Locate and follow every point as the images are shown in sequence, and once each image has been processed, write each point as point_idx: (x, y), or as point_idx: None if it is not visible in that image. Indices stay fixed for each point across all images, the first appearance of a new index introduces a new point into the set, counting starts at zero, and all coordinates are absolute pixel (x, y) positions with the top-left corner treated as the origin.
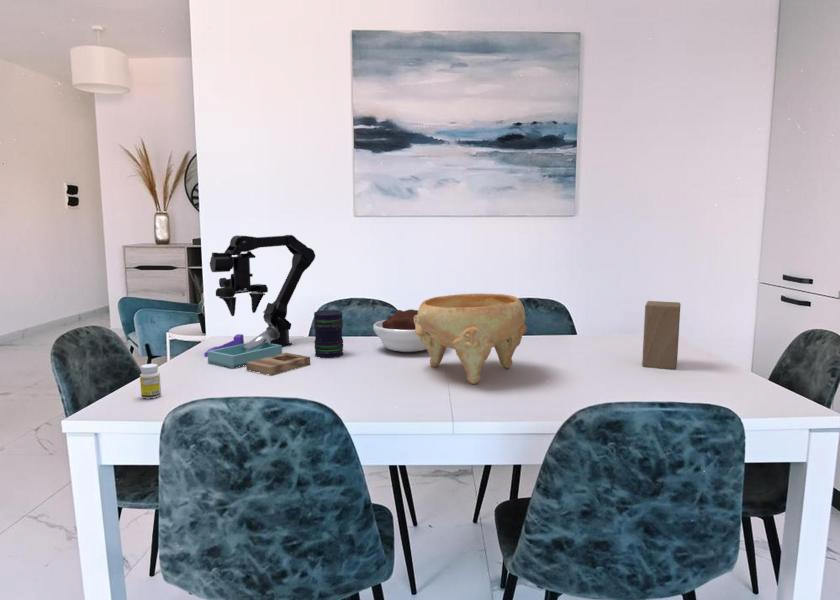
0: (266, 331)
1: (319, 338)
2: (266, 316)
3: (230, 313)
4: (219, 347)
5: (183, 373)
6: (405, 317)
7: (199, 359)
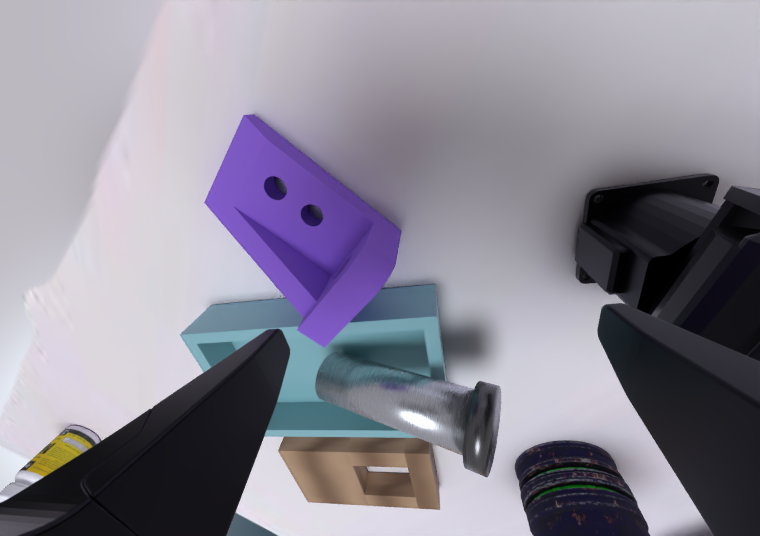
0: (434, 442)
1: None
2: (713, 326)
3: (246, 344)
4: (255, 258)
5: (134, 351)
6: None
7: (190, 228)
